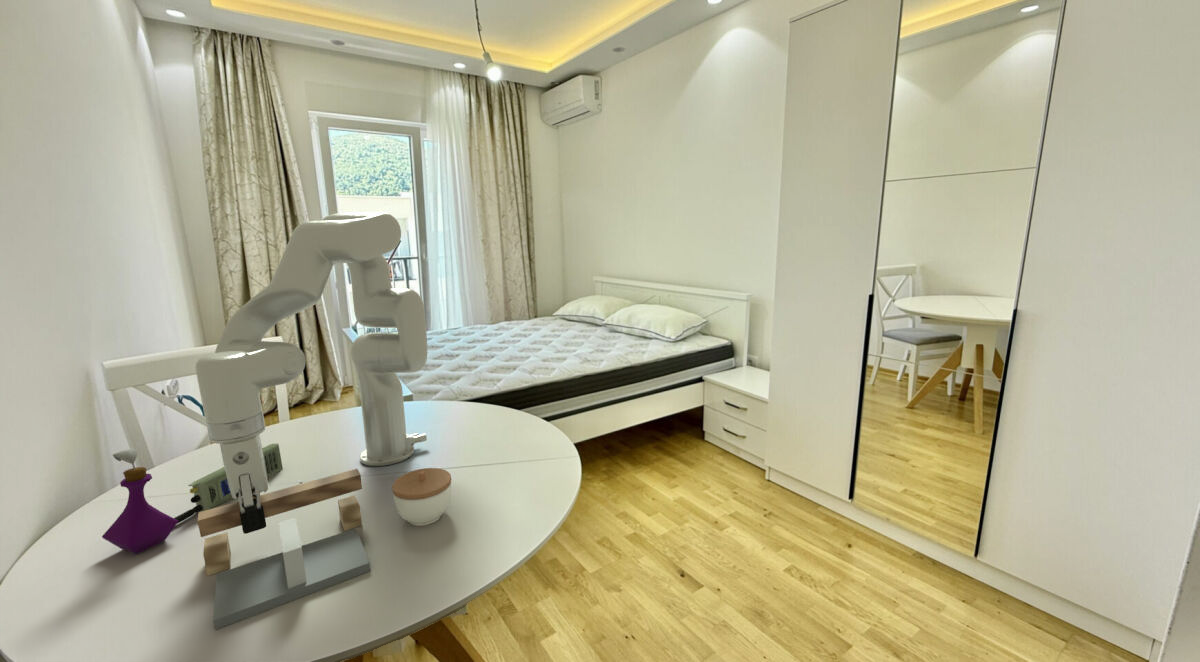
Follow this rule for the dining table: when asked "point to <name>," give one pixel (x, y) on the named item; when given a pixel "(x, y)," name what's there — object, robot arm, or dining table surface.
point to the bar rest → (219, 548)
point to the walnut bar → (281, 501)
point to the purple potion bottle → (138, 513)
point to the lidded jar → (422, 495)
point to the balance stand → (287, 574)
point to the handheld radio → (225, 484)
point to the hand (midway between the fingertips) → (254, 524)
